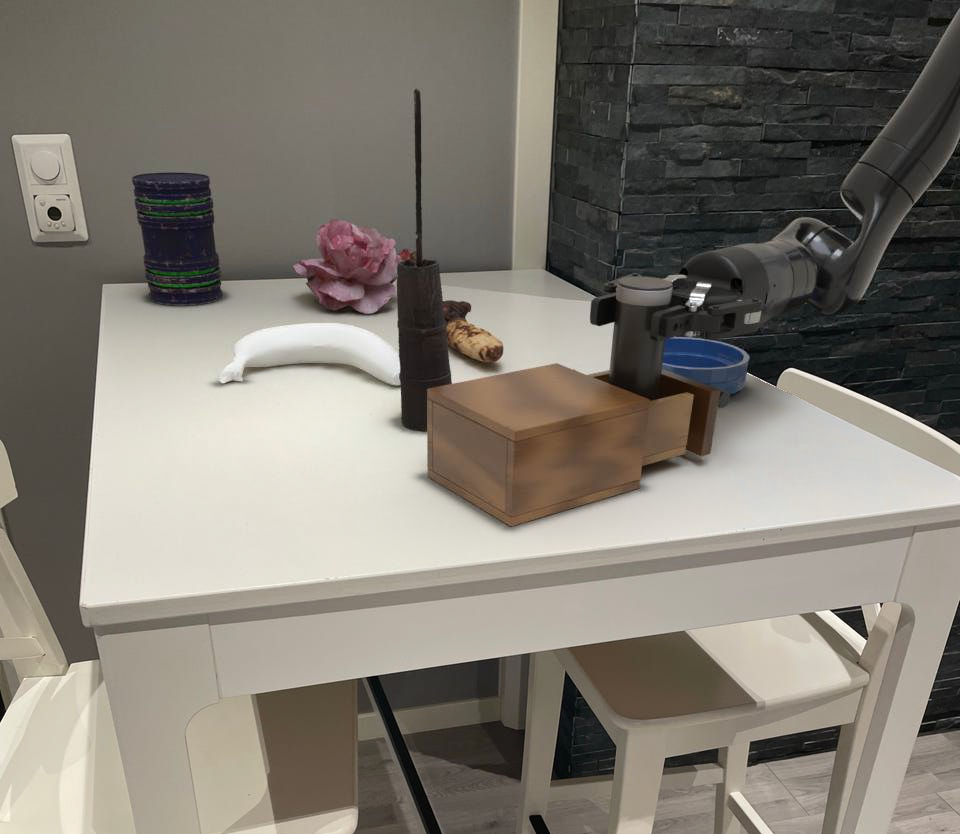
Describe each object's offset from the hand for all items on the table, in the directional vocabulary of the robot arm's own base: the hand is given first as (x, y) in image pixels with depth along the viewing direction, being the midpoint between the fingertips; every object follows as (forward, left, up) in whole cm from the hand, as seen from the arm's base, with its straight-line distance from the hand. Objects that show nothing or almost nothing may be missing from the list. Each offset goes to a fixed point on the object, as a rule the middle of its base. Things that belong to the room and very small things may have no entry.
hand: (624, 320), depth 79 cm
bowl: (+12, -23, -12) cm, 29 cm away
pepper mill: (+1, -2, -10) cm, 11 cm away
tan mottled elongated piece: (+35, -8, -13) cm, 38 cm away
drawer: (0, -3, -11) cm, 12 cm away
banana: (+35, +10, -13) cm, 39 cm away
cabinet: (0, +8, -12) cm, 15 cm away
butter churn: (+18, +7, -13) cm, 23 cm away
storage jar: (+76, +8, -13) cm, 78 cm away
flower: (+62, -10, -13) cm, 64 cm away
